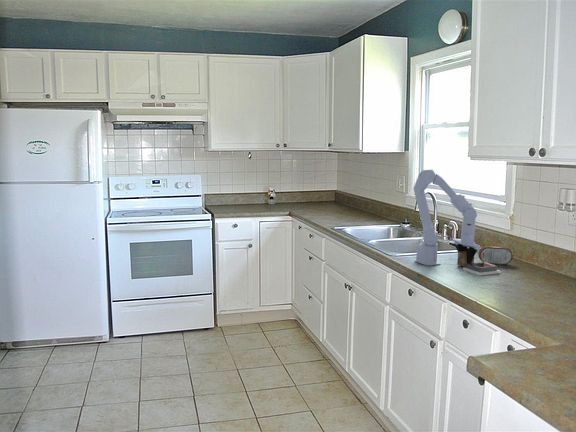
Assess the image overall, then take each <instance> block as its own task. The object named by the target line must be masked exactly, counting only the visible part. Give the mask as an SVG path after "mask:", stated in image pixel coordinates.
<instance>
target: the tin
mask: <svg viewBox="0 0 576 432" xmlns="http://www.w3.org/2000/svg"><path fill="white" fill-rule="evenodd" d="M513 257H514V255H513V252H512V250H511V249H510V248H509V247H506V246H500V245H496V246H495V245H485V246H482V247H480V250H478V258H479V260H480V261H481V262H486V263H489V264H492V265H499V264H502V265H503V266H505V265H508V264H509V263H511V262H512V260H513ZM502 265H501V266H502Z"/></svg>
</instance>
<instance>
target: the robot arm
mask: <svg viewBox="0 0 576 432" xmlns="http://www.w3.org/2000/svg"><path fill="white" fill-rule="evenodd" d="M431 183H432V184H433V185H436V186H438V187H439V188H440V189H442V191H444V193H445V194H446V195H447V196H448V197H449V198H450V201H449V202H450V203H451V204H452V206H453V207H454V208H455V209H456V210H457V211H458V212H459V213H461V215H462V216H463V217H462V222H461V232H460V239H458V238H457V239H454V241H453V244H456V245H455V249H456V251H457V253H458V252H464V251H466V254H467V263H468V264H469V263H472V260H473V257H474V258H475V255H476V253H477V252H479V250H480V249H481V245H480V244H477V243H476V242H475V232H476V231H475V230H476V218H477V217H478V213H477V210H476V209H475V208H474V206H473V205H472V203H471V202H469V201H468V200H467V199H466V198H465V197H466V196H465V195H464V194H461V193H456V191H454V189H452V187H451V186H450V185H449V183H447V182H446V180H445V179H444V178H443V177H442V176H440V174H438V173H437V172H435V171H434V170H433V169H432V168H431V167H426V168H423V169H422V170H421V171H420V173H419V174H418V175H417V178H416V182H415V183H414V186H413V192H414V196H415V200H416V205H417V209H418V212H419V217H420V220H421V224H422V225H421V226H422V230H423V234H422V239H423V241H422V242H420V243H419V244H418V245H417V247H416V257H415V259H414V262H415V263H418V264H422V265H424V266H427V267H428V266H438V265H441V263H440V262H438V249H439V248H438V247H439V246H438V238H439V237H438V233H437V232H436V230H435V229H434V226H433V222H432V217H431V214H430V210H429V205H428V201H427V197H426V193H425V190H426V189H427V188H428V186H429V185H431Z"/></svg>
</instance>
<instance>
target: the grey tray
mask: <svg viewBox="0 0 576 432" xmlns="http://www.w3.org/2000/svg"><path fill="white" fill-rule="evenodd" d="M462 271H464V272H467V273H471V274H473V275H476V276H486V275H494V274H495V275H497V274H501V270H499V269H498V265H497V264H489V263H486V262H482V261H481V262H480V261H479V262H474V263H469V264H467V266H466V267H462Z"/></svg>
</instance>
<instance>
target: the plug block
mask: <svg viewBox="0 0 576 432" xmlns="http://www.w3.org/2000/svg"><path fill="white" fill-rule="evenodd" d="M456 263H457V264H456V265H457V266H460V267H462V268H466V267H467V264H468V263H467V254H466V251H464V252H458V251H457V262H456ZM472 263H475V256H474V257H473V260H472Z"/></svg>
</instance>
